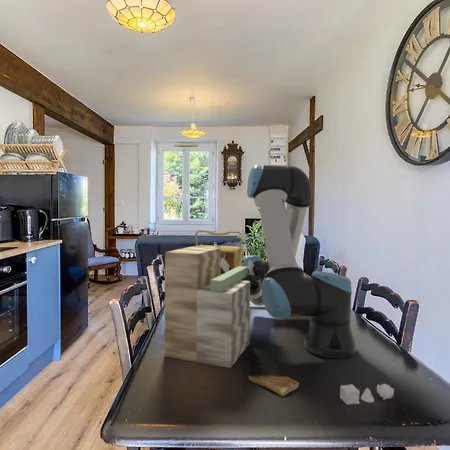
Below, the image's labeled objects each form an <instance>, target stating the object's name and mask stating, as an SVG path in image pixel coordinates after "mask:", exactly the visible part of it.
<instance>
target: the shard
mask: <svg viewBox="0 0 450 450" xmlns="http://www.w3.org/2000/svg"><path fill="white" fill-rule="evenodd" d="M247 377H248V380H249V381H250V382H252V383H254V384H257V385H260V386H262V387H265V388H266V389H268V390H270V391H272V392H274V393H276V394H277V395H279V396H281V397H284V396H286V395H287V394H289V393H290V392H293V391H294V390H297V389H298V388H299V386H300V382H299V381H297V380H295V379H292V378H290V377H289V376H287V375H286V376H285V375H270V374H269V375H265V374H263V375H247Z"/></svg>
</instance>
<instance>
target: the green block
mask: <svg viewBox="0 0 450 450" xmlns="http://www.w3.org/2000/svg"><path fill="white" fill-rule="evenodd" d="M246 276H248V268H247V267H245V266H244V265H242V266H238V267H236V268H234V269H232V270H230V271H228V272H226V273H224V274H222V275H220V276H218V277H215V278H213V279H211V280H210V291H217V292H222V291H223V290H225V289H227V288H228V287H230V286H232V285H233V284H235V283H236V282H238V281H240V280H241V279H243V278H245V277H246Z"/></svg>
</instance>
